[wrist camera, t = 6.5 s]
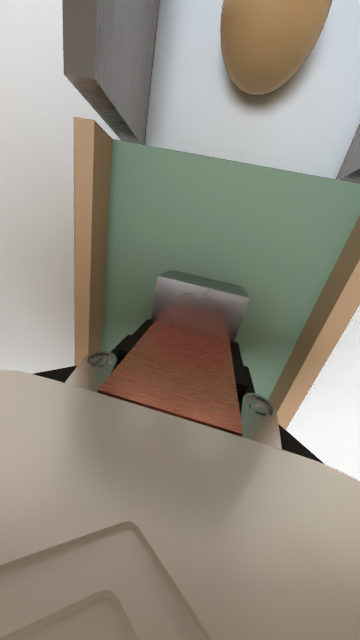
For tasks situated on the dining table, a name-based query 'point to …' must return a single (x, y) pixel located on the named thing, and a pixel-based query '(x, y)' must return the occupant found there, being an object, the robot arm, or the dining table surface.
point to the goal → (127, 65)
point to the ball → (269, 40)
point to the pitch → (215, 252)
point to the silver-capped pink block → (186, 353)
